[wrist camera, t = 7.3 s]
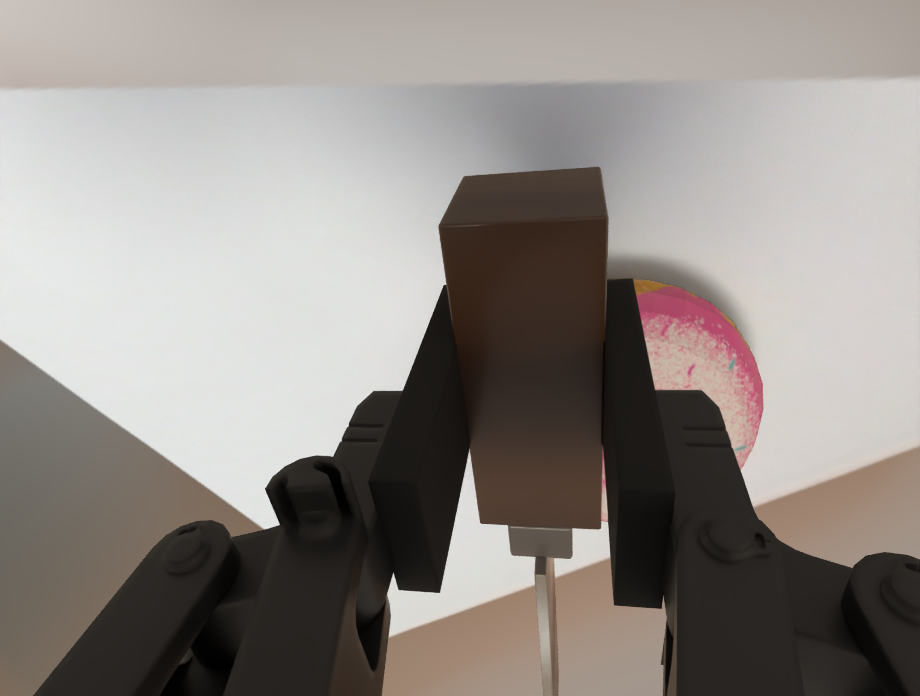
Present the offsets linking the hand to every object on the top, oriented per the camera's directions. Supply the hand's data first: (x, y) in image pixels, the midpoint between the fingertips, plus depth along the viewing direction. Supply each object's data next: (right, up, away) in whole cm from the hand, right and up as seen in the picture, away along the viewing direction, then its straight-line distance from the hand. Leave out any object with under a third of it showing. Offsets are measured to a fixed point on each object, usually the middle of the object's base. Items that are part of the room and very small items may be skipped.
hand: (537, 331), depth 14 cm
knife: (+1, -5, +4) cm, 6 cm away
